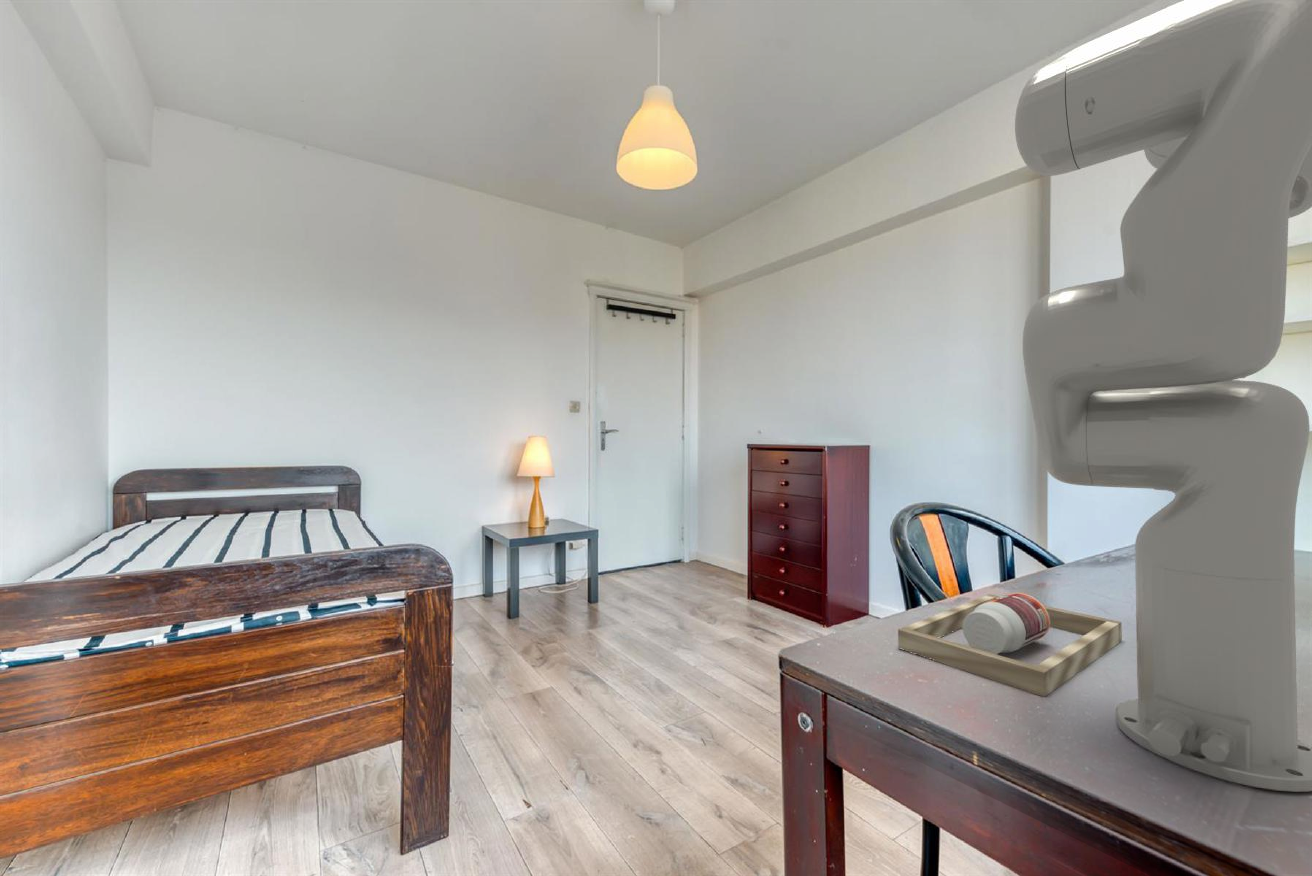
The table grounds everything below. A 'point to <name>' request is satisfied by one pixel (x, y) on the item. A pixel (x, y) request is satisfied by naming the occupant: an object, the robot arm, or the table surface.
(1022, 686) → the tray frame
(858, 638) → the table surface
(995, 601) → the pill bottle
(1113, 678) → the table surface
